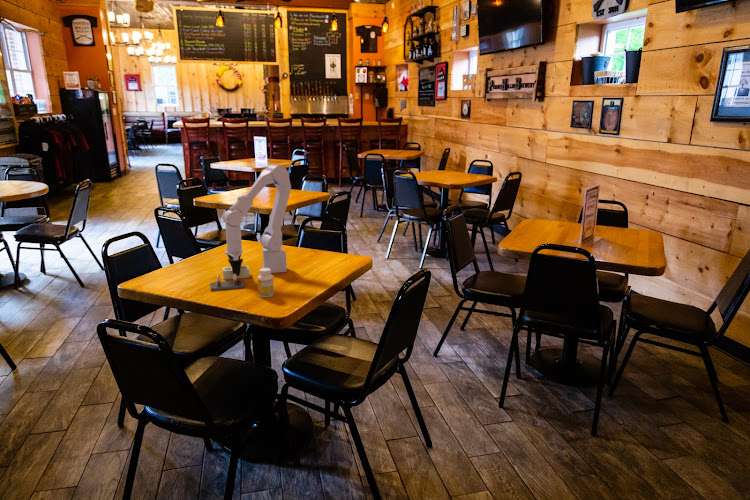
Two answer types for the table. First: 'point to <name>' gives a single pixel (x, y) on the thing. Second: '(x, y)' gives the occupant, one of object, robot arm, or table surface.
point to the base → (227, 284)
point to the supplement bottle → (265, 283)
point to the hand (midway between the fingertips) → (236, 273)
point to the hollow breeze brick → (229, 273)
